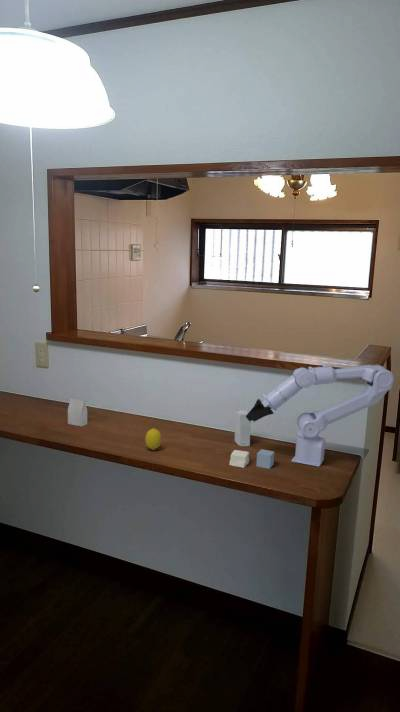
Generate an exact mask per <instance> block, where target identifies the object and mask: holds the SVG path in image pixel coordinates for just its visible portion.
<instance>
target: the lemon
mask: <svg viewBox="0 0 400 712" xmlns="http://www.w3.org/2000/svg"><path fill="white" fill-rule="evenodd" d="M161 443H162V435H161V432H160V431H159V430H158V429H156V428H155V427H154V428H153V427H152V428H151V429H148V431H147V432H146V434H145V445H146V446H147V447H148V448H149V449H150V450H152V451H155V449H158V448H159V447H160V446H161Z"/></svg>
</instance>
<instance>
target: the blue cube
mask: <svg viewBox="0 0 400 712" xmlns="http://www.w3.org/2000/svg"><path fill="white" fill-rule="evenodd" d="M274 459H275V451H273V450H268V449H263V448H261V449H260V450H259V451H258V452H257V453H256V467H259V468H263V469H268V470H270V469H272V466H274V462H275V461H274Z"/></svg>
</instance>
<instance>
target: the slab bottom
mask: <svg viewBox="0 0 400 712" xmlns="http://www.w3.org/2000/svg"><path fill="white" fill-rule="evenodd" d="M249 463H250V457H249V458H248V459H247V461H246V463H243V462H236V461H230V460H229V466H233V467H239V468H243V469H244V468H245V467H246V466H247V465H248V464H249Z"/></svg>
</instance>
